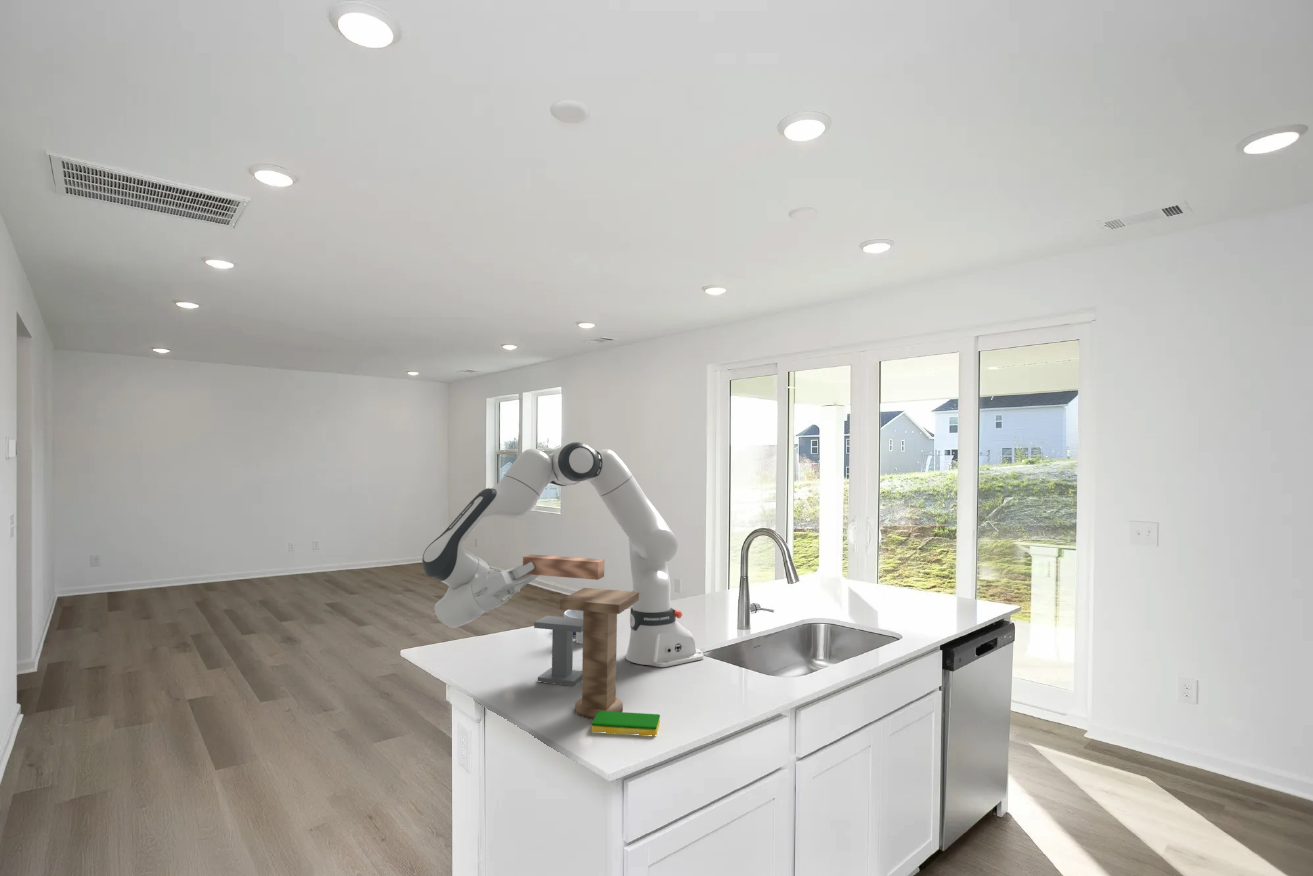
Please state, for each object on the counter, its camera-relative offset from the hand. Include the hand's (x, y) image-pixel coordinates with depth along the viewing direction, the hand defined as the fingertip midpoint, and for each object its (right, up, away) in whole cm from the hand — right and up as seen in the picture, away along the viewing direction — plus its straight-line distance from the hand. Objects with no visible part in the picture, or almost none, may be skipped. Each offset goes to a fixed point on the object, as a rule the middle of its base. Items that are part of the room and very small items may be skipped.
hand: (539, 563), depth 160 cm
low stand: (+3, -33, +15) cm, 36 cm away
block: (+6, -3, -2) cm, 7 cm away
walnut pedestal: (+15, -33, -5) cm, 36 cm away
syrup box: (+6, -34, +49) cm, 60 cm away
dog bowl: (+5, -34, +63) cm, 72 cm away
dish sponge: (+21, -33, -15) cm, 42 cm away
